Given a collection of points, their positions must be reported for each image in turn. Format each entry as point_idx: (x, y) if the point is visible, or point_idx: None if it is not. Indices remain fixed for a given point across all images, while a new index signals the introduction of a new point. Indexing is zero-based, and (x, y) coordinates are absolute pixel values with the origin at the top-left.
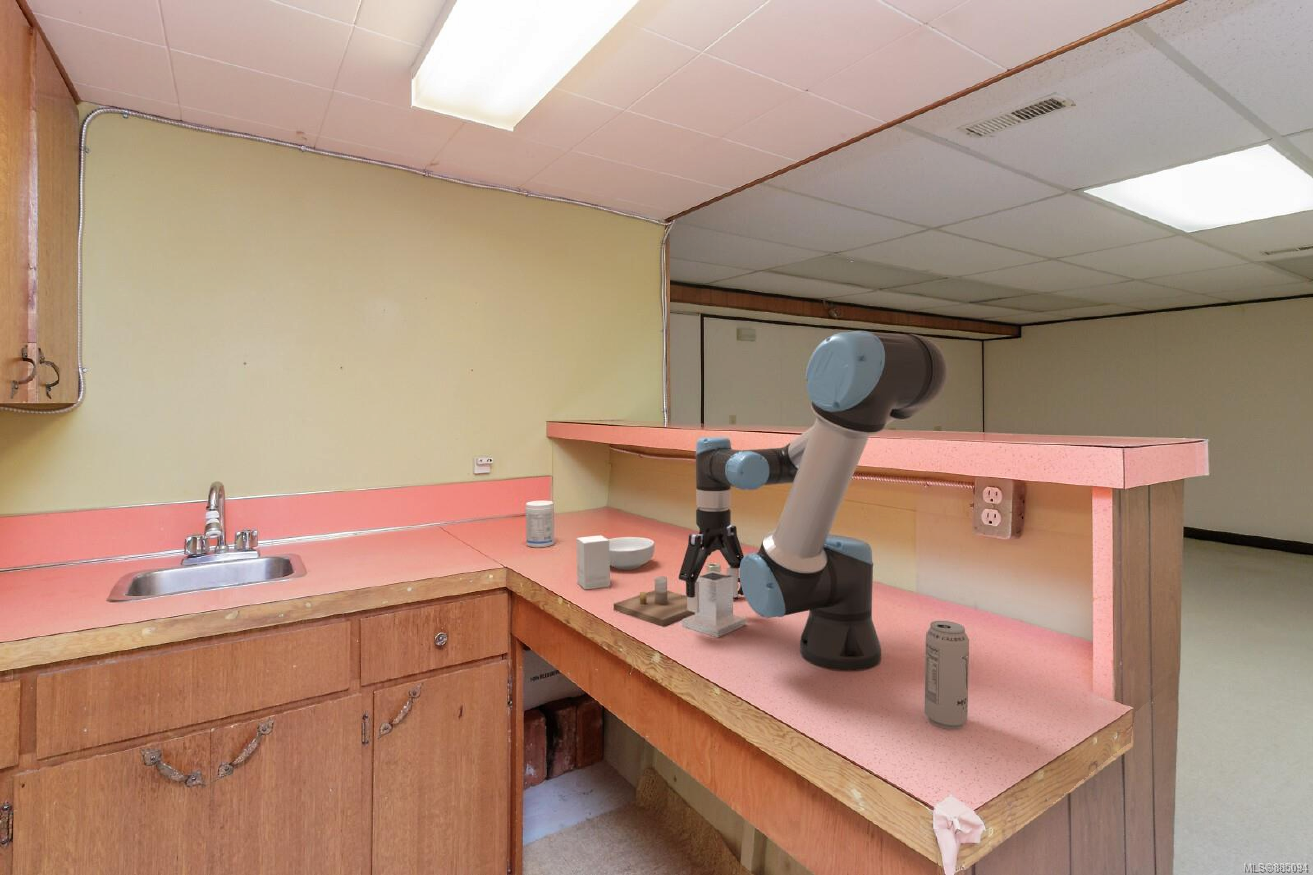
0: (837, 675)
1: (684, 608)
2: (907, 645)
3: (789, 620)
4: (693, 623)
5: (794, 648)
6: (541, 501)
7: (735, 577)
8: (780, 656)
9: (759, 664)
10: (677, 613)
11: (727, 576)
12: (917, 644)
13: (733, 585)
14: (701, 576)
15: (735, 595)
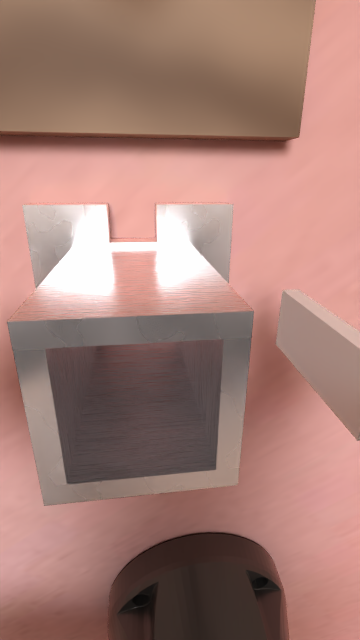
0: (101, 630)
1: (144, 100)
2: (321, 618)
3: (330, 423)
4: (34, 275)
5: (158, 530)
6: None
7: (326, 399)
8: (92, 539)
9: (12, 540)
10: (61, 125)
11: (205, 472)
12: (335, 622)
13: (303, 359)
14: (77, 345)
15: (280, 346)
